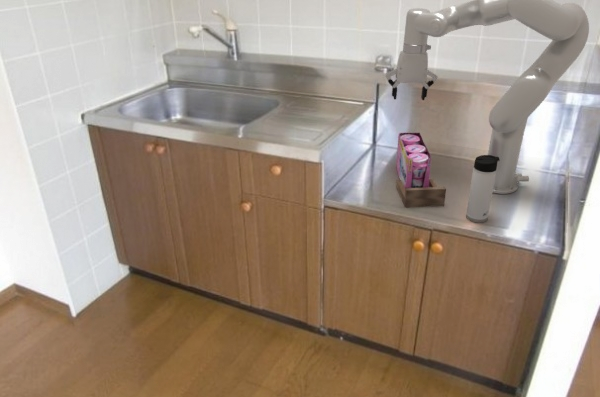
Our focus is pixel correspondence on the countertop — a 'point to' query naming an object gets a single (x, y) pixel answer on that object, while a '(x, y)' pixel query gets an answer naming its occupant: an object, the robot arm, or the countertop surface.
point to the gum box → (413, 161)
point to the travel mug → (481, 188)
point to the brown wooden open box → (422, 195)
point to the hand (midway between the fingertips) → (408, 98)
